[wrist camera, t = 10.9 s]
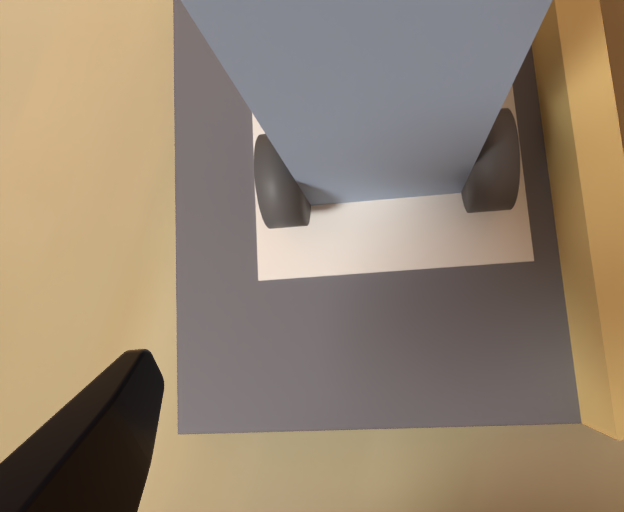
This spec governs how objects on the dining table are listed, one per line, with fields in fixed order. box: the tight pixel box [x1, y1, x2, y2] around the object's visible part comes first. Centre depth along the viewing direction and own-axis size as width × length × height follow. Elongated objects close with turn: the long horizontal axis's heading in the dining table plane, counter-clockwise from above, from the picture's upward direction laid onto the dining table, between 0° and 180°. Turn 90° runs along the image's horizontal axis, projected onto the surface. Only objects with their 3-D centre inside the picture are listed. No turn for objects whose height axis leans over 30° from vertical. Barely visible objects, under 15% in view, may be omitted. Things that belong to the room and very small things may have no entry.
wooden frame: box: [173, 0, 624, 440], centre depth 17 cm, size 18×14×4 cm
